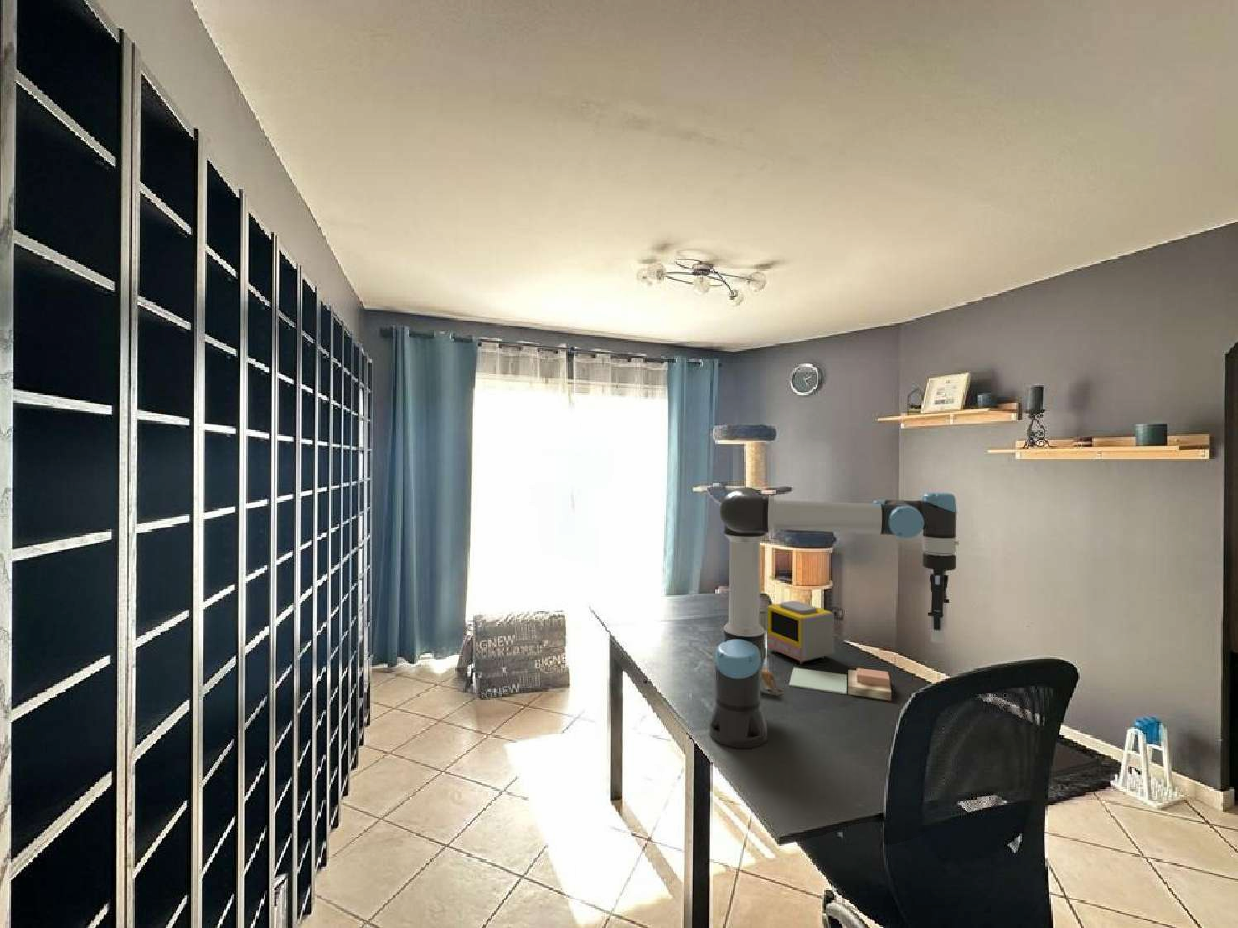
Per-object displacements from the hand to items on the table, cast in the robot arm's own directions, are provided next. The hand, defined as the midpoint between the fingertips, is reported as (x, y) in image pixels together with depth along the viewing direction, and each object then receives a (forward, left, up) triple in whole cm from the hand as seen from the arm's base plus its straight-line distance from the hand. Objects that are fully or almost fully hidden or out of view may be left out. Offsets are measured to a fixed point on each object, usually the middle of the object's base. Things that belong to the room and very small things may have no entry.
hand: (938, 634), depth 146 cm
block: (-15, +28, -25) cm, 40 cm away
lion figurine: (-49, +13, -28) cm, 58 cm away
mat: (-31, +28, -28) cm, 50 cm away
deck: (-16, +28, -28) cm, 42 cm away
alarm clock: (-39, +50, -28) cm, 69 cm away
